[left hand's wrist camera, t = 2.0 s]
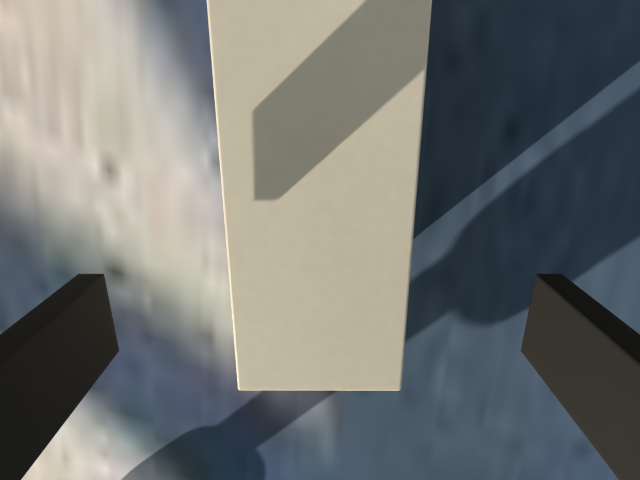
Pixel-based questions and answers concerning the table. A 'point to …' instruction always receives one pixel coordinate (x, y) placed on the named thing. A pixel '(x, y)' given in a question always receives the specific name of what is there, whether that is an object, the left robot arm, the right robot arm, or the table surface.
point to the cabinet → (319, 184)
